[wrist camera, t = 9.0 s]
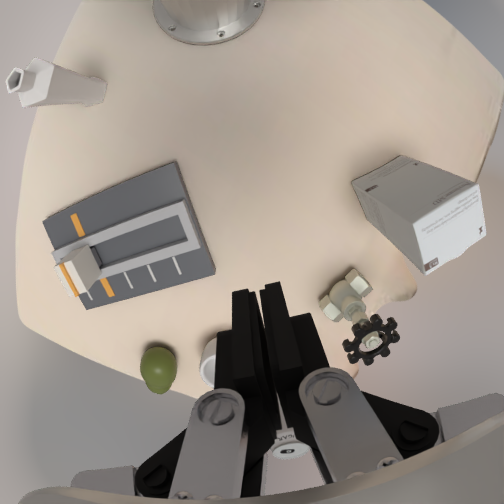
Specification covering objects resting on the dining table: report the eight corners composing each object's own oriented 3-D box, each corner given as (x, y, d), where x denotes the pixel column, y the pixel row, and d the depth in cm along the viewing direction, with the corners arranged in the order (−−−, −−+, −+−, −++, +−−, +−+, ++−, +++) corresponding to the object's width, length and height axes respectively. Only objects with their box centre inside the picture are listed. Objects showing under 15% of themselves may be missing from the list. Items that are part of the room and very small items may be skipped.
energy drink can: (292, 385, 46) (307, 459, 33) (257, 384, 46) (264, 461, 32) (300, 361, 44) (320, 439, 30) (263, 360, 43) (272, 441, 30)
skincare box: (400, 154, 32) (481, 176, 18) (415, 195, 34) (491, 234, 21) (346, 183, 33) (412, 221, 20) (365, 224, 36) (428, 280, 22)
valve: (308, 291, 39) (332, 351, 28) (343, 256, 37) (381, 308, 26) (338, 315, 41) (366, 373, 30) (371, 284, 39) (410, 336, 28)
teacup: (241, 370, 44) (242, 396, 39) (195, 356, 43) (191, 382, 38) (270, 325, 41) (274, 351, 36) (219, 308, 39) (217, 332, 34)
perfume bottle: (91, 117, 28) (10, 120, 15) (72, 95, 27) (-9, 89, 13) (117, 90, 27) (44, 72, 14) (97, 68, 26) (22, 44, 12)
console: (48, 218, 33) (37, 224, 30) (176, 161, 31) (171, 163, 29) (90, 304, 38) (83, 314, 36) (215, 268, 37) (214, 279, 34)
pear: (175, 373, 37) (172, 404, 42) (180, 344, 41) (176, 378, 46) (135, 364, 36) (139, 397, 41) (144, 336, 40) (145, 372, 46)
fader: (74, 247, 33) (51, 268, 27) (91, 240, 33) (69, 261, 27) (88, 275, 34) (68, 298, 29) (105, 269, 34) (86, 293, 29)
